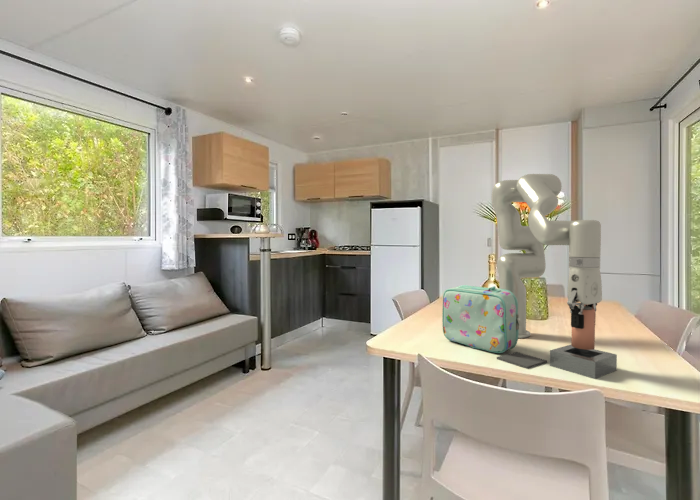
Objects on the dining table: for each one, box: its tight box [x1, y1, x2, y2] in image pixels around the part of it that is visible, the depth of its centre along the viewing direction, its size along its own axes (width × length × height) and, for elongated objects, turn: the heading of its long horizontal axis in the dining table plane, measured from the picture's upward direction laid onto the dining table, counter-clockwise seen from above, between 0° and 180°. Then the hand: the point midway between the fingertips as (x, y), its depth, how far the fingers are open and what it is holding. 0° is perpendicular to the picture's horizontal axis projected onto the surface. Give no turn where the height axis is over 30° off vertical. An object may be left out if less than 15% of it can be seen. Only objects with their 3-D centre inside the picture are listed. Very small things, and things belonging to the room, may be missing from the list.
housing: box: [549, 344, 618, 380], centre depth 104 cm, size 12×12×4 cm
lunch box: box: [441, 284, 521, 354], centre depth 125 cm, size 27×10×21 cm, turn 37°
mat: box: [496, 351, 548, 369], centre depth 110 cm, size 10×10×1 cm
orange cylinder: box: [570, 305, 596, 350], centre depth 104 cm, size 6×6×12 cm
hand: (583, 325), depth 104 cm, fingers closed on orange cylinder, 5 cm apart
